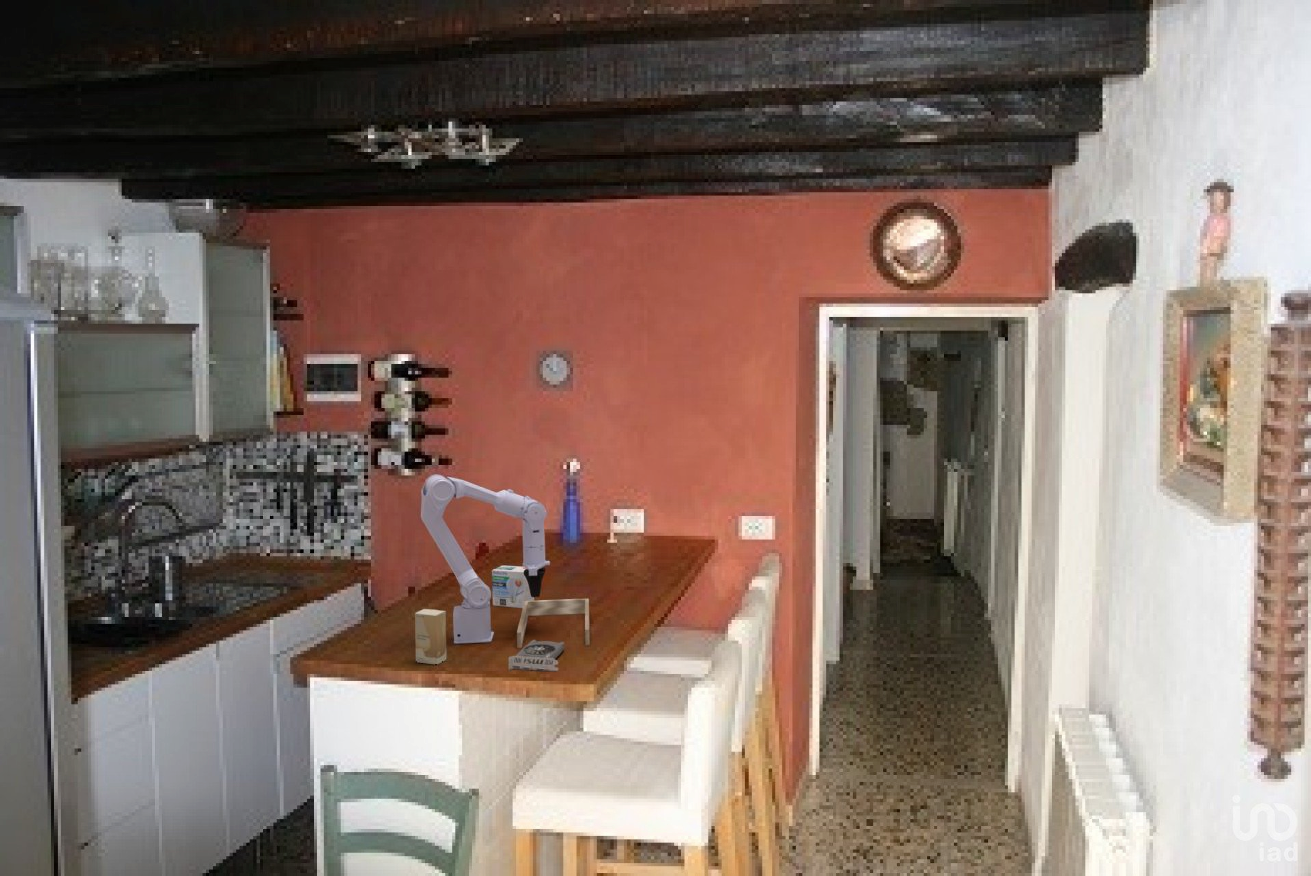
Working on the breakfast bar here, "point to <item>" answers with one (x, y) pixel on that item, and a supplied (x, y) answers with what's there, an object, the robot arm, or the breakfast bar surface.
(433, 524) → the robot arm
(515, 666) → the graphics card
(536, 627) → the breakfast bar surface
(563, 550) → the breakfast bar surface
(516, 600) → the light bulb box
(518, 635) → the wooden frame
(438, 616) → the skincare box
